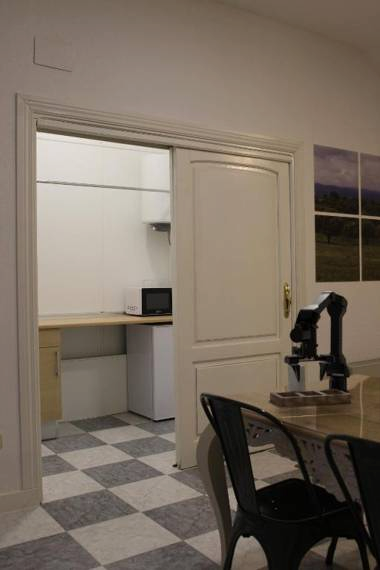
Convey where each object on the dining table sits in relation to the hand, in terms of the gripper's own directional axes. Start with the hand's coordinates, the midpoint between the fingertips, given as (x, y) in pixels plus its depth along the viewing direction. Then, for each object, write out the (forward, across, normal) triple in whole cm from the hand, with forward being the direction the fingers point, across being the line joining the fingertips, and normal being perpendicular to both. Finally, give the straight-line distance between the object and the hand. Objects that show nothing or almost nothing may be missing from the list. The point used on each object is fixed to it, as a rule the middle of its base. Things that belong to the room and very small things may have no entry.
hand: (309, 381), depth 223 cm
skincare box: (+8, 0, -13) cm, 15 cm away
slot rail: (+8, 0, 0) cm, 8 cm away
